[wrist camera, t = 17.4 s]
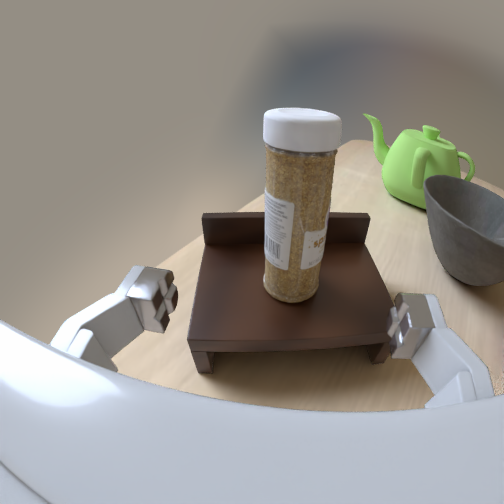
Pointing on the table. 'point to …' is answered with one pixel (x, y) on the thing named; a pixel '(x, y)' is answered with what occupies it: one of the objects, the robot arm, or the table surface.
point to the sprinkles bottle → (297, 198)
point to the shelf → (279, 312)
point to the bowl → (466, 229)
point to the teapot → (415, 161)
